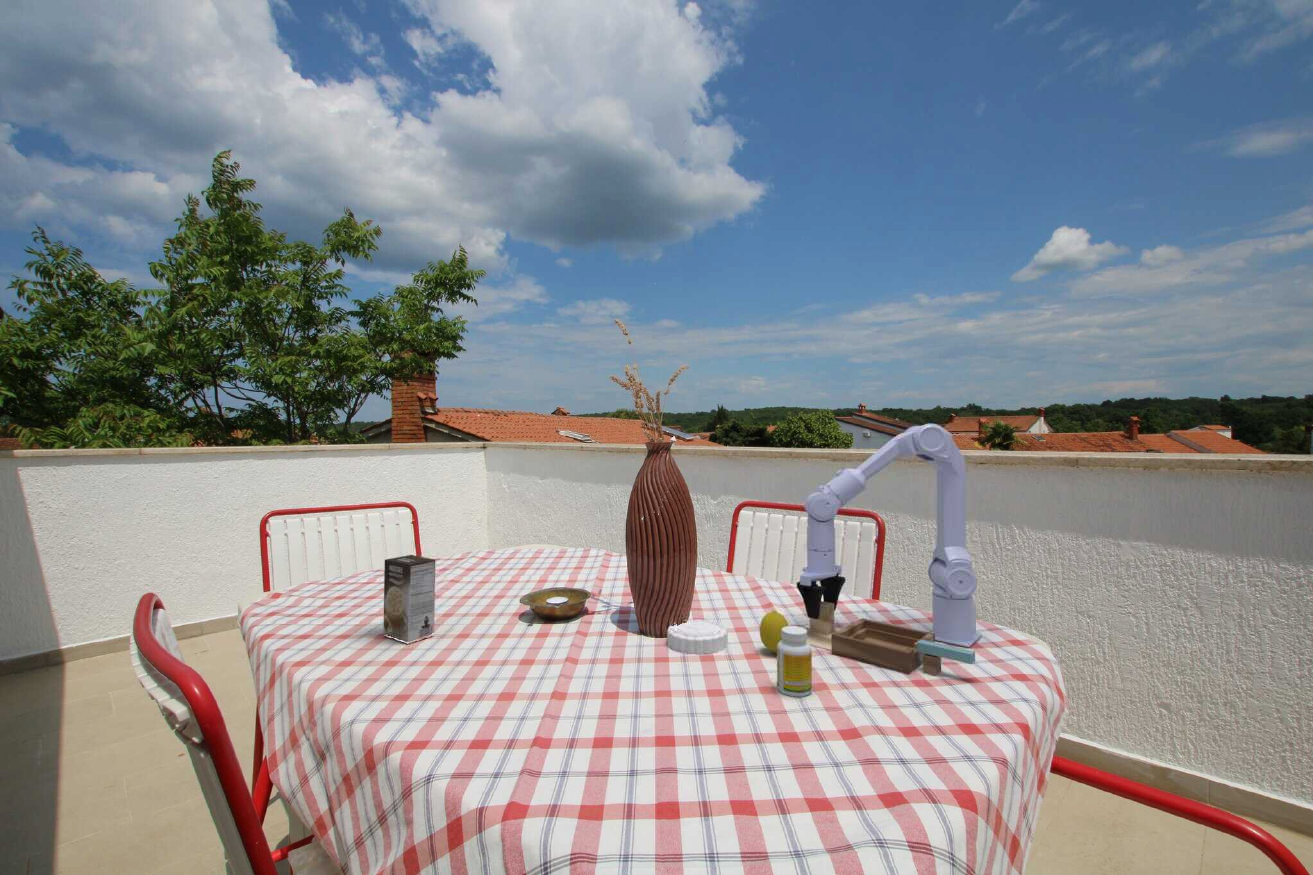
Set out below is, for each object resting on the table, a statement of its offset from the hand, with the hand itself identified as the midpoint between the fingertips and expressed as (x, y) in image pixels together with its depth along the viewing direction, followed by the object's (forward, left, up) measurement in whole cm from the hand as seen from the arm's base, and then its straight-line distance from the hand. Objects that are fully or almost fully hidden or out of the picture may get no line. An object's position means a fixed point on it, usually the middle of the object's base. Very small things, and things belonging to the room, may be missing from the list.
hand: (821, 614), depth 115 cm
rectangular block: (+6, +26, -1) cm, 26 cm away
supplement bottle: (+29, +10, -4) cm, 31 cm away
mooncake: (+23, -15, -4) cm, 28 cm away
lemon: (+17, -1, -4) cm, 18 cm away
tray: (+3, +16, -4) cm, 17 cm away
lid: (+3, +1, -4) cm, 5 cm away
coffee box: (+61, -61, -4) cm, 86 cm away
